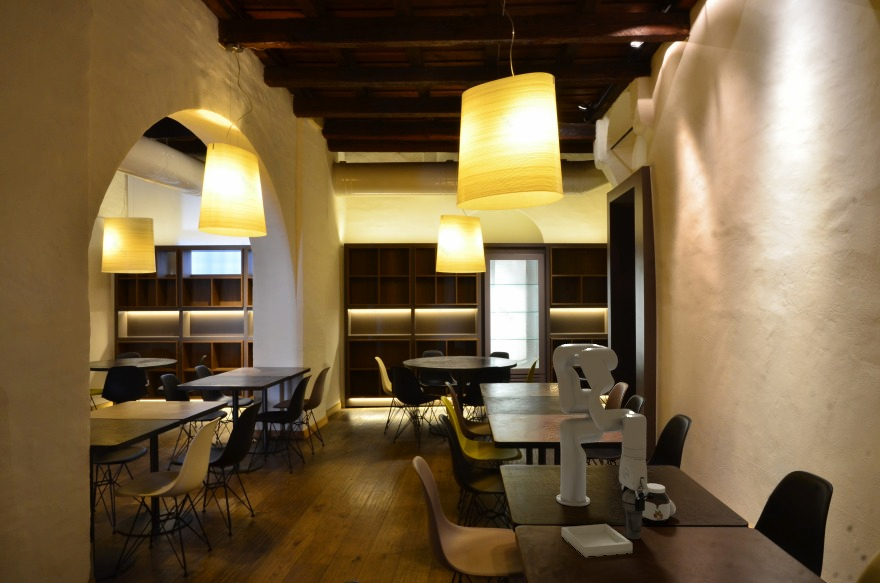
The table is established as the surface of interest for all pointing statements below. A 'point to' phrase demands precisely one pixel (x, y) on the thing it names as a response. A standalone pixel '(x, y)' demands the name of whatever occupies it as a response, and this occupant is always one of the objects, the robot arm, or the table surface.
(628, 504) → the beverage cup
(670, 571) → the table surface
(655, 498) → the spread jar
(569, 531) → the walled tray
